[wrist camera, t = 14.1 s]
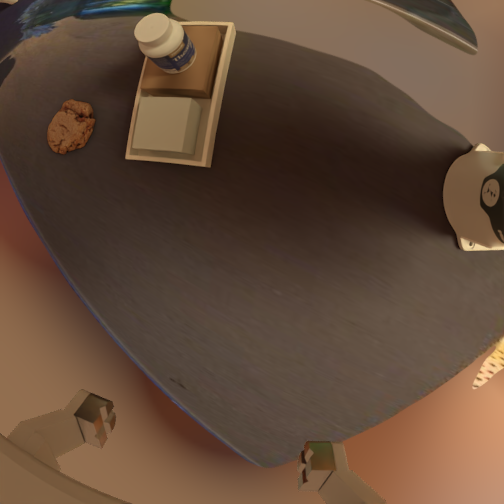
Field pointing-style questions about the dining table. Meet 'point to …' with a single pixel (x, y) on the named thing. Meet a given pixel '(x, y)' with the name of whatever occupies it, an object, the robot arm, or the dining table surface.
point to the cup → (9, 1)
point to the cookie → (71, 126)
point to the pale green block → (167, 125)
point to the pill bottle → (165, 43)
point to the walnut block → (196, 76)
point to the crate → (208, 105)
